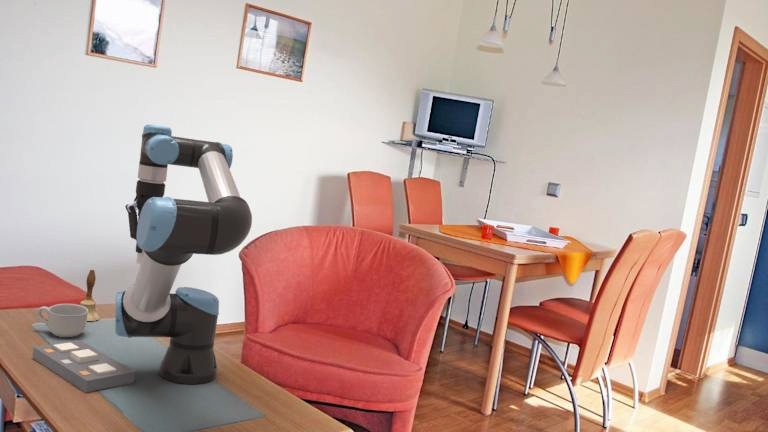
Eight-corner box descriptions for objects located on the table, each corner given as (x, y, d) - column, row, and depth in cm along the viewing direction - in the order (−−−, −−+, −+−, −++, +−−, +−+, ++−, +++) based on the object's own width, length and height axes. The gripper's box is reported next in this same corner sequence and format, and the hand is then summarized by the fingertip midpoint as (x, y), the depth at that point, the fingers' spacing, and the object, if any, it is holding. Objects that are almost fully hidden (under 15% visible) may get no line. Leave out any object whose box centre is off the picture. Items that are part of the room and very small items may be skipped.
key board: (134, 382, 174) (135, 371, 173) (85, 392, 163) (87, 380, 163) (79, 350, 190) (80, 339, 189) (32, 357, 179) (33, 346, 179)
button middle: (96, 362, 177) (97, 354, 176) (79, 365, 173) (80, 357, 173) (87, 356, 179) (88, 348, 179) (69, 359, 176) (70, 351, 175)
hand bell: (79, 313, 223) (85, 265, 221) (104, 317, 223) (110, 270, 221) (67, 319, 214) (72, 270, 213) (92, 323, 214) (98, 274, 213)
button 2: (115, 377, 171) (116, 369, 171) (97, 380, 168) (98, 372, 167) (105, 371, 174) (106, 363, 174) (87, 374, 170) (88, 366, 170)
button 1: (78, 355, 182) (79, 347, 182) (61, 358, 178) (62, 350, 178) (69, 350, 185) (70, 342, 185) (52, 352, 181) (53, 344, 181)
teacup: (92, 333, 206) (95, 307, 205) (72, 343, 195) (75, 316, 194) (49, 325, 207) (51, 299, 206) (27, 334, 196) (29, 307, 195)
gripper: (163, 180, 195) (153, 260, 198) (122, 177, 185) (112, 262, 187) (179, 184, 191) (169, 266, 193) (138, 181, 180) (127, 268, 183)
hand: (141, 263), depth 190 cm, fingers closed
